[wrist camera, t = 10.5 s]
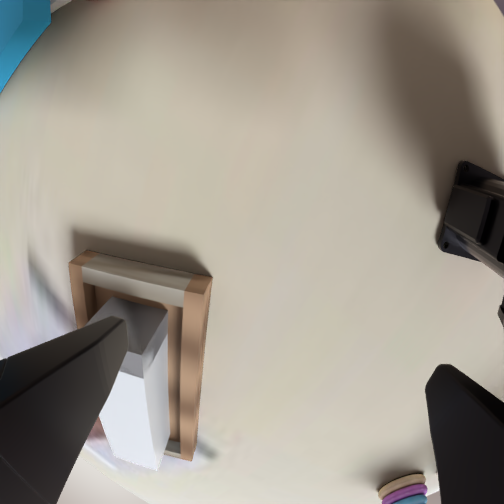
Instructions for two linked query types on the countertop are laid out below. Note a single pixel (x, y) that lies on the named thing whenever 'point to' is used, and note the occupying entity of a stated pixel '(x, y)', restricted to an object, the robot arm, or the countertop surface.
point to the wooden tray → (179, 326)
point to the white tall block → (139, 386)
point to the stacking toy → (405, 490)
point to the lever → (21, 30)
